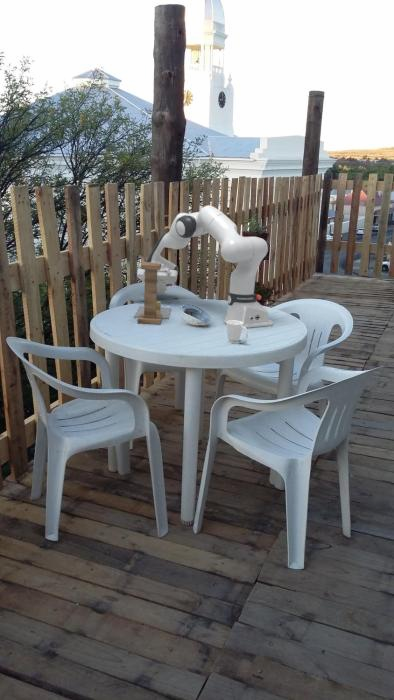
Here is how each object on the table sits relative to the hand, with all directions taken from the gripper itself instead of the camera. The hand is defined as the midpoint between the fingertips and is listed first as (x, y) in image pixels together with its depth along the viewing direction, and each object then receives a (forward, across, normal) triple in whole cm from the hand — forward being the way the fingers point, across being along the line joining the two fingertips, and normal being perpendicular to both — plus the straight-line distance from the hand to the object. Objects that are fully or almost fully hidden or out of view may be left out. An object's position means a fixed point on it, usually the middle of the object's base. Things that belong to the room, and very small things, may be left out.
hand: (156, 269), depth 281 cm
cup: (+40, +38, +45) cm, 72 cm away
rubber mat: (+2, 0, +23) cm, 23 cm away
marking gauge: (0, +1, +22) cm, 22 cm away
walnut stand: (+16, 0, +31) cm, 35 cm away
